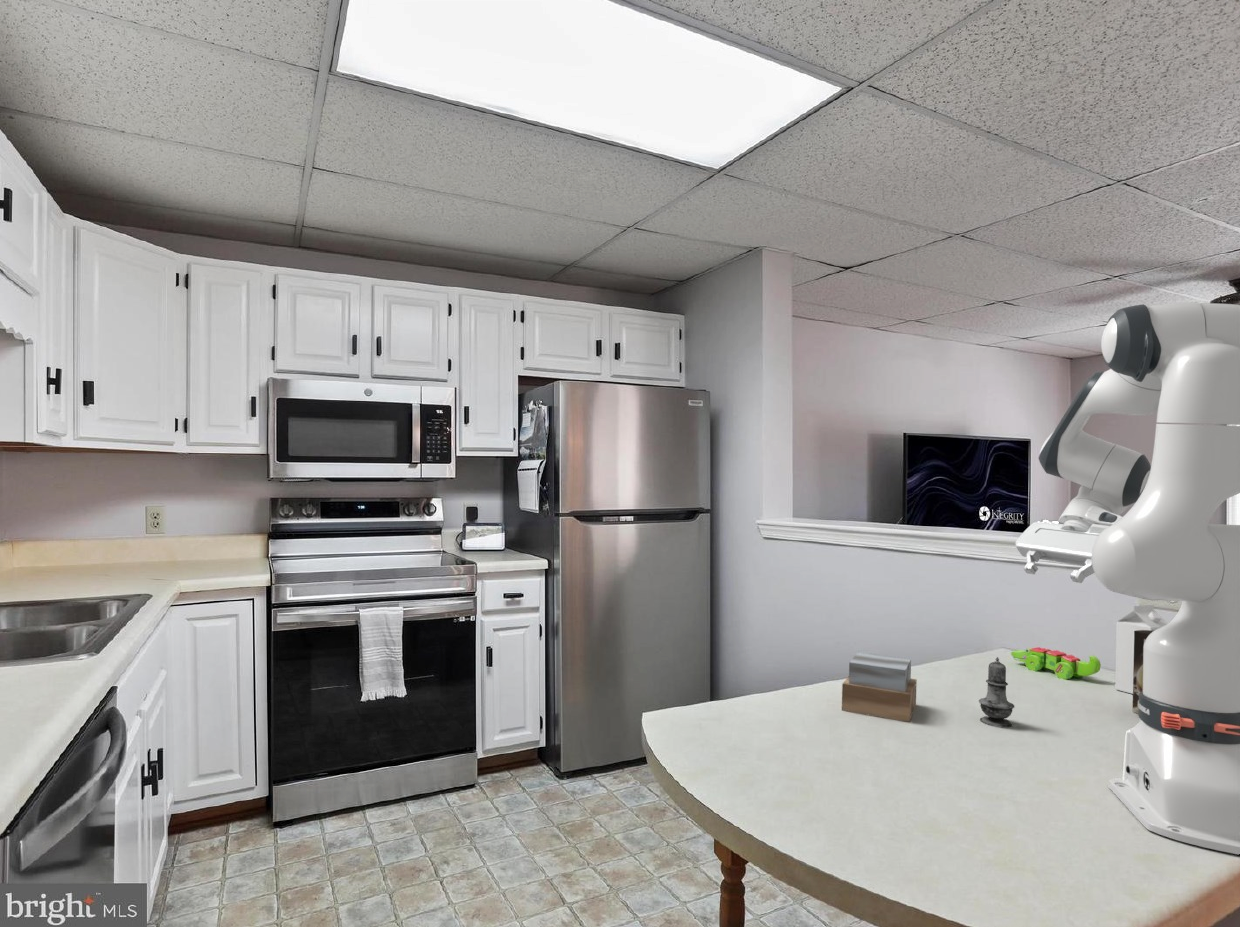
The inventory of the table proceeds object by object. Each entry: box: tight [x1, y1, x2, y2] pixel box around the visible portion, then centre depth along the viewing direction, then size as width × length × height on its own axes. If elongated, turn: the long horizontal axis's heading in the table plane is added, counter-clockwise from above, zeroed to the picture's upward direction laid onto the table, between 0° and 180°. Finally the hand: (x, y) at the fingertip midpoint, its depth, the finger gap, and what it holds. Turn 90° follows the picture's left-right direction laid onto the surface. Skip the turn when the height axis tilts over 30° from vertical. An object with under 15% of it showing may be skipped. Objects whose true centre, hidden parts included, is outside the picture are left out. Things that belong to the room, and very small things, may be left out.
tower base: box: [841, 651, 918, 723], centre depth 139 cm, size 12×12×9 cm
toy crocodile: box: [1010, 647, 1101, 680], centre depth 171 cm, size 20×7×6 cm, turn 25°
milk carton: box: [1114, 604, 1169, 695], centre depth 156 cm, size 7×7×19 cm
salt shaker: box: [978, 656, 1015, 729], centre depth 133 cm, size 6×6×12 cm
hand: (1051, 576), depth 139 cm, fingers open, 8 cm apart
